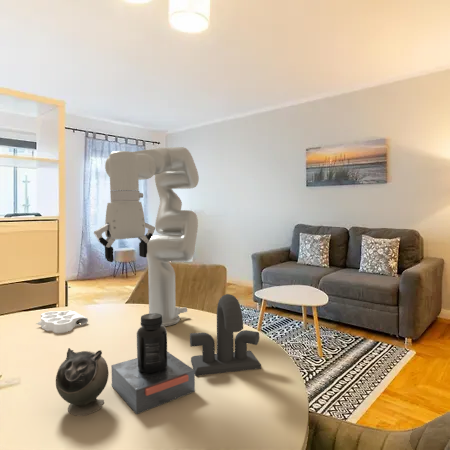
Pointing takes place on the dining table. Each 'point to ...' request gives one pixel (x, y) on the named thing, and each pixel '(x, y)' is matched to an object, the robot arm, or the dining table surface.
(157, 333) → the supplement bottle
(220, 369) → the faucet
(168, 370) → the stand
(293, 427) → the dining table surface
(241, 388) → the dining table surface
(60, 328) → the white flat holed piece
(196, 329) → the dining table surface
